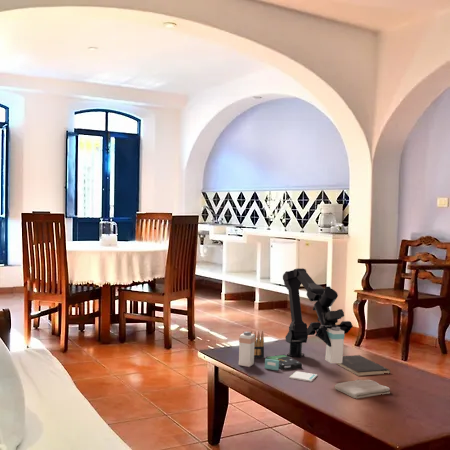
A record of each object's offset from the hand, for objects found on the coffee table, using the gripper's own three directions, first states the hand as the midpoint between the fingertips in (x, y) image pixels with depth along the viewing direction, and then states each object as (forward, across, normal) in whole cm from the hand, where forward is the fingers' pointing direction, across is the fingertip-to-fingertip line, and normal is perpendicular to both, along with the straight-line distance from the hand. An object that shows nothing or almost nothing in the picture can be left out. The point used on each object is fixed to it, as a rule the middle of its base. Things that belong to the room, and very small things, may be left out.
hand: (336, 345), depth 227 cm
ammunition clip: (-16, -21, +36) cm, 45 cm away
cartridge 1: (-9, -28, +29) cm, 41 cm away
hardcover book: (+1, +20, +19) cm, 27 cm away
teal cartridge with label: (-3, -20, +22) cm, 30 cm away
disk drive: (-6, -12, +27) cm, 30 cm away
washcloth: (+21, +3, -1) cm, 22 cm away
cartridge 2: (+4, 0, +6) cm, 7 cm away
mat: (+6, -12, +13) cm, 18 cm away
